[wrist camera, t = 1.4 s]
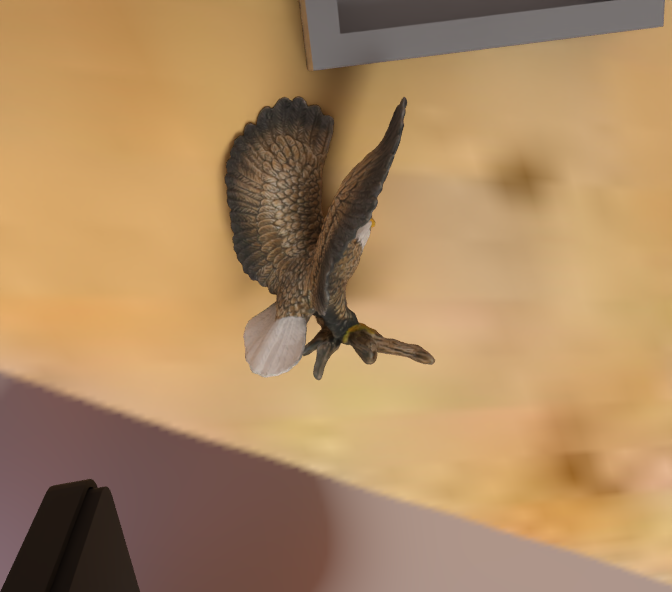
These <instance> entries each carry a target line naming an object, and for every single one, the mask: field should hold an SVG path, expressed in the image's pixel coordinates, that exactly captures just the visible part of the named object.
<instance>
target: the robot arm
mask: <svg viewBox="0 0 672 592" xmlns="http://www.w3.org/2000/svg"><path fill="white" fill-rule="evenodd" d="M0 592H140V590H139V587H138V584H137V580H136V576H135V573H134V570H133V566H132V563H131V559H130V556H129V552H128V549H127V546H126V542H125V539H124V535H123V532H122V528H121V525H120V522H119V518H118V515H117V511H116V508H115V504H114V501H113V497H112V495H111V492H110V490H109V488H108V487H100V488H97V485H96V483H95V482H94V481H93V480H92V479H87V480H82V481H76V482H71V483H65V484H60V485H54V486H51V487H50V488H49V489H48V491H47V492H46V494H45V496H44V499H43V501H42V503H41V505H40V507H39V509H38V512H37V514H36V516H35V518H34V520H33V522H32V524H31V527H30V529H29V531H28V533H27V535H26V537H25V540H24V542H23V544H22V546H21V548H20V551H19V553H18V555H17V557H16V559H15V561H14V564H13V566H12V568H11V570H10V572H9V574H8V576H7V578H6V581H5V583H4V585H3V587H2V589H1V591H0Z"/></svg>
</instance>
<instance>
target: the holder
mask: <svg viewBox="0 0 672 592" xmlns="http://www.w3.org/2000/svg"><path fill="white" fill-rule="evenodd" d="M664 4H665V0H299V6H300V14H301V22H302V30H303V38H304V45H305V53H306V61H307V69H308V71H315V70H323V69H331V68H338V67H346V66H354V65H362V64H370V63H378V62H386V61H394V60H402V59H410V58H418V57H425V56H433V55H441V54H449V53H457V52H465V51H473V50H481V49H489V48H497V47H505V46H512V45H520V44H528V43H536V42H544V41H552V40H560V39H568V38H576V37H584V36H591V35H599V34H607V33H615V32H623V31H631V30H639V29H647V28H655V27H663V23H664Z"/></svg>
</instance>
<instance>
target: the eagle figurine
mask: <svg viewBox="0 0 672 592" xmlns="http://www.w3.org/2000/svg"><path fill="white" fill-rule="evenodd" d="M406 106H407V100H406V98H405V97H404V98H403V99H402V100H401V102H400V104H399V105H398V106H397V107H396V110H395V112H394V114H393V117H392V120H391V122H390V124H389V127H388V129H387V131H386V133H385V136H384V138H383V139H382V141H381V142H380V144H379V145H378V146H377V147H376V148H375V149H374V150H373V151H372V152H370V153H369V154H367V155H366V156H365V158H364V159H363V160H362V161H361V162H360V163H358V164H357V165H356V166H355V167H354V168H353V169H352V170H351V172H350V173H349V174H348V175H347V176H346V178H345V179H344V180H343V182H342V184H341V186H340V188H339V190H338V192H337V194H336V195H335V197H334V200H333V202H332V204H331V206H330V207H329V209H328V213H327V215H326V217H325V219H324V218H323V212H322V208H321V192H322V170H323V165H324V162H325V159H326V156H327V153H328V150H329V143H330V141H331V137H332V134H333V125H334V120H333V118H332V117H331V116H329V115H326V116H324V115H323V113H322V111H321V109H320V107H319V106H318V105H312V106H309V107H308V106H307V104H306V101H305V100H304V99H303V98H301V97H296V98H294V99H293V101H291V100H289V99H288V98H286V97H283V98H281V99H279V100H278V101H277V103H276V105H275V106H274V107H273V108H270V107H265V108H263V109H262V110H261V112H260V114H259V116H258V120H257V125H253V124H252V123H249V124H247V125H246V126H245V131H244V135H243V136H241V135H240V136H238V137H237V138H236V139H235V141H234V145H233V147H232V149H231V152H230V156H231V157H230V158H229V160H228V161H227V162H226V163H227V165H226V168H227V174H226V175H225V183H226V185H227V187H228V189H227V203H228V205H229V207H230V208H231V212H230V218H231V228H232V231H233V232H234V236H233V238H232V240H233V243H234V251H235V252H236V254H237V259H238V261H239V262H240V263H241V264H242V266H243V271H244V273H246V274H248V275H249V277H250V278H251V280H256V281H258V282H259V284H260V285H261V286H263V287H268V290H269V292H270V293H271V294H275V295H277V301H276V302H275V303H274V304H272V305H271V306H270V307H268V308H267V309H266V310H264V311H262V312H261V313H259V314H258V315H256V316H255V317H253V318H252V319H251V320H249V321H248V323H247V325H246V327H245V331H244V343H245V344H244V345H245V358H246V361H247V362H248V364H249V366H250V369H251V371H252V372H253V373H255V374H259V375H260V376H262V377H271V376H278V375H280V374H282V373H285V372H288V371H289V370H290V369H291V368H292V367H293V366H295V365H297V363H298V362H299V361H300V359H301V358H302V355H303V356H306V355H308V354H310V353H311V352H313V351H314V350H317V357H316V362H315V365H314V371H313V374H314V377H315V379H317V380H320V379H321V378H322V375H323V371H324V367H325V365H326V363H327V361H328V359H329V358H330V356H331V355H332V354H333V353H334V352H335V351H336V350H338V348H339V346H340V344H341V343H343V344H346V345H351V346H352V347H353V348H354V349H355V351H356V352H357V354H358V355H359V356H360V357H361V359H362V360H363V361H364V362H365V363H366V364H373V363H374V362H375V361H376V359H377V352H379V353H385V354H393V355H399V356H405V357H408V358H411V359H412V360H415V361H417V362H420V363H423V364H431V365H432V364H433V363H434V362H435V360H434V358H433V357H432V355H431V354H430V353H428V352H427V351H426V350H424V349H423V348H422V347H420V346H418V345H414V344H407V343H403V342H400V341H398V340H395V339H387V338H384V337H383V336H382V335H380V334H379V333H378V332H377V331H376V330H374V329H372V328H369V327H368V326H366V325H365V324H362V323H359V322H358V320H357V318H356V315H355V313H353V312H352V311H351V310H350V309H348V307H347V302H346V292H345V289H346V284H347V281H348V279H349V278H350V277H351V276H352V274H353V273H354V271H355V270H356V268H357V266H358V264H359V261H360V256H361V254H362V251H363V249H364V246H365V244H366V242H367V240H368V238H369V236H370V231H371V227H374V226H375V221H374V220H373V219H371V217H372V212H373V210H374V209H375V208H376V206H377V204H378V200H377V197H378V195H379V194H380V192H381V191H382V187H383V183H384V181H385V180H386V177H387V175H388V172H389V169H390V167H391V164H392V162H393V159H394V155H395V153H396V151H397V149H398V146H399V143H400V140H401V135H402V131H403V127H404V122H403V119H404V116H405V108H406ZM311 315H315V316H316V317H317V323H318V324H319V325H320V326H321V328H322V330H320V331H319V332H318V334H317V335H316V336H315V337H314V339H312V340H311V341H310V342H309V343H308V344H307V345H306V346H305V343H306V331H307V327H306V324H307V322H308V321H309V319H310V316H311Z"/></svg>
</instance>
